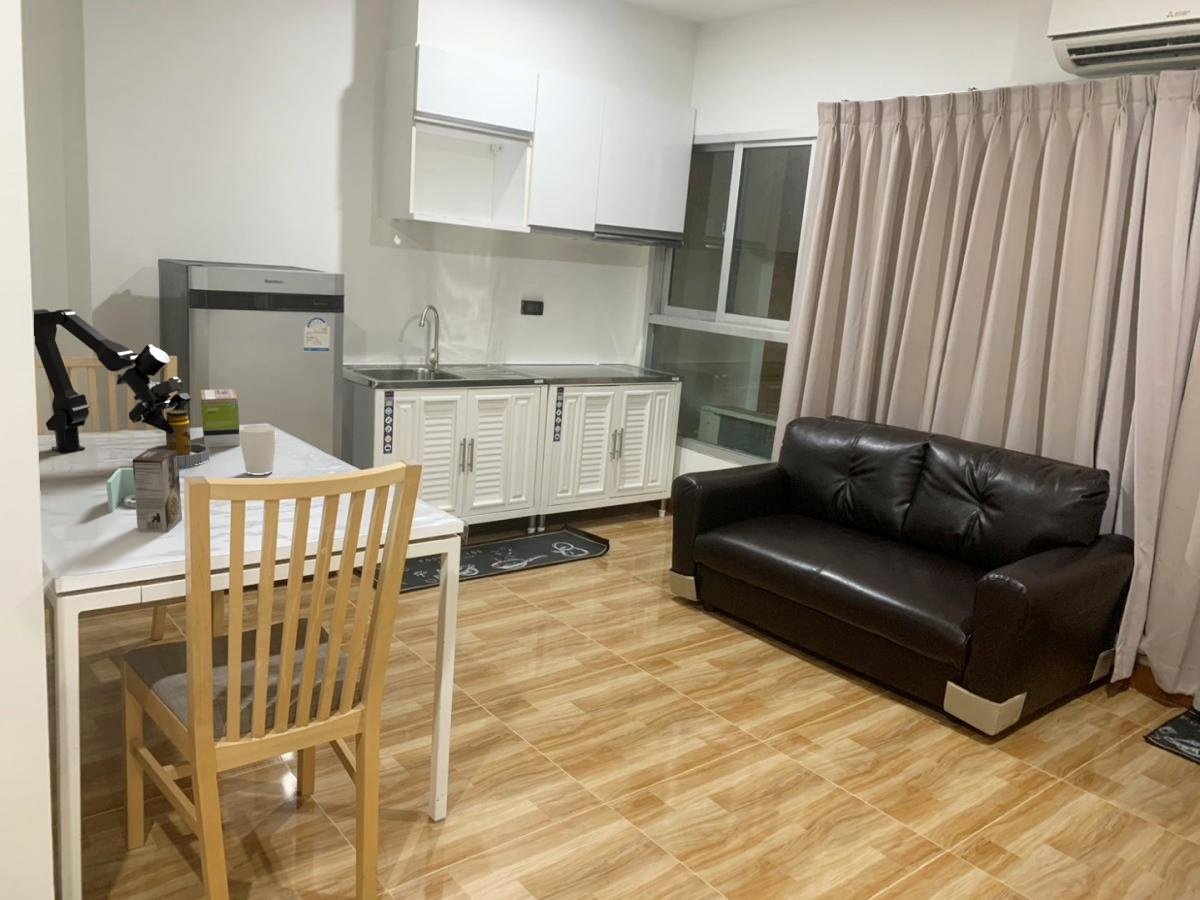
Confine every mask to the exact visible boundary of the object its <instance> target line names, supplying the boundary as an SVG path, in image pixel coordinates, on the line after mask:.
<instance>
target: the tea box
mask: <svg viewBox="0 0 1200 900" xmlns="http://www.w3.org/2000/svg"><path fill="white" fill-rule="evenodd" d="M199 391H200V395H199V396H200V409H201V411H200V412H201V423H202V424H201V425H202V427H201V428H202V435H203V445H205V446H208V447H209V448H220V447H223V448H225V447H238V446H239V447H240V446H241V443H240V417H239V402H238V397H237V394H236V392H235V389H234V388H221V389H217V388H216V389H200V390H199Z"/></svg>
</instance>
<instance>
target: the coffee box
mask: <svg viewBox="0 0 1200 900" xmlns="http://www.w3.org/2000/svg"><path fill="white" fill-rule="evenodd" d="M147 449H148V450H147ZM147 449H146V450H145V451H143V452H142V453H141V454H139V455H137V456H136V457H135V458H133V459H132V468H133V474H134V487H135V500H136V508H135V510H136V511H135V513H136V523H137V525H136V526H137V527H136V528H137V532H139V533H164V534H165V533H169V531H170V530H172V529H173V528H174V527H175V526H176V525H178V523H180V521H182V520H183V513H182V512H183V511H182V498H181V483H180V482H181V481H180V470H179V469H180V467H178V454H177V450H162V449H149V448H147Z"/></svg>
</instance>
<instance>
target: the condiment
mask: <svg viewBox="0 0 1200 900" xmlns="http://www.w3.org/2000/svg"><path fill="white" fill-rule="evenodd" d="M188 414H189V413H188V410H185V409H184V410H170V411H168V410H167V411H166V420H167V422H168V423H169V425H170V426H171V427H172V429H173V431H174V433H173V434H169V433H167V432H165V444H166V446H167V450H177V454H178V456H185V455H191V454H198V453H193V452H190V451H191V427H190V425H191V424H190V420H189V416H188Z"/></svg>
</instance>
